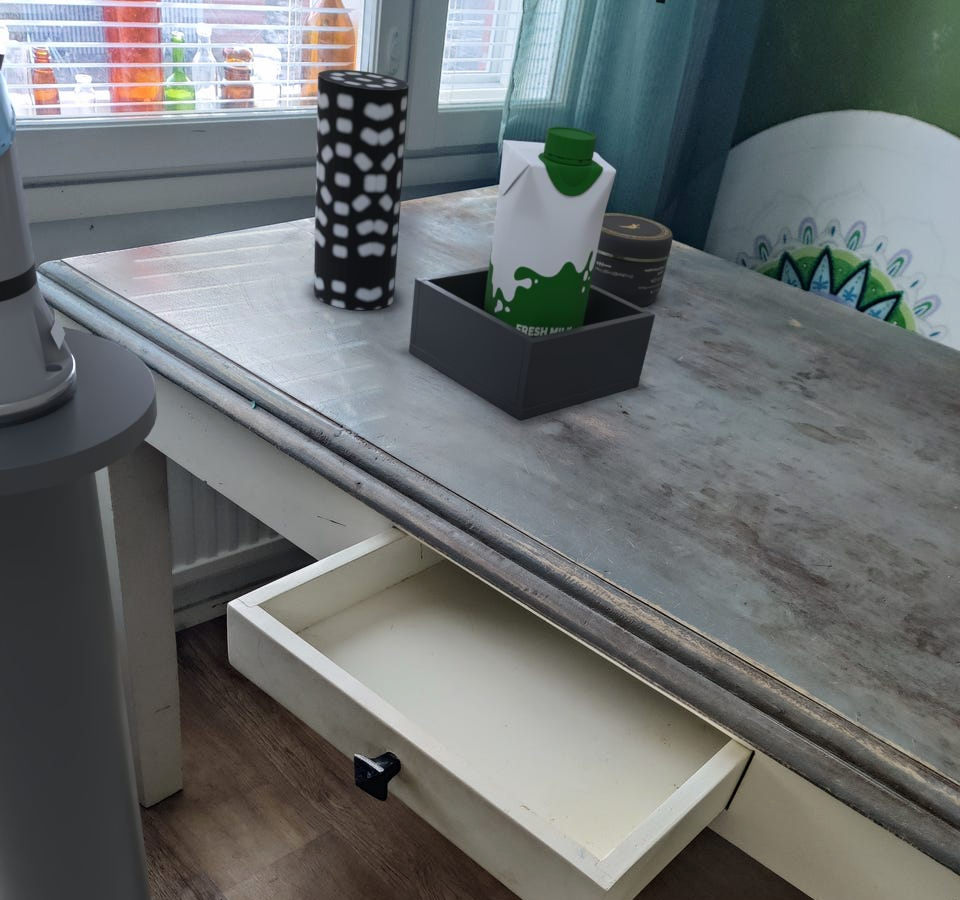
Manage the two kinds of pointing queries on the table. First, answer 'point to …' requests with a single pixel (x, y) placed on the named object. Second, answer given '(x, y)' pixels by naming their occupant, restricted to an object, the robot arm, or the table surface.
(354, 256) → the white-spotted black cylinder
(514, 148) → the milk carton
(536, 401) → the basket
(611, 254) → the jar
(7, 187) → the robot arm
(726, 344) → the table surface
